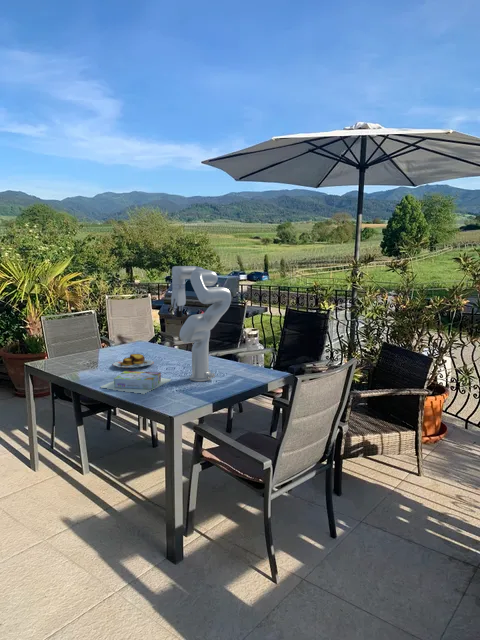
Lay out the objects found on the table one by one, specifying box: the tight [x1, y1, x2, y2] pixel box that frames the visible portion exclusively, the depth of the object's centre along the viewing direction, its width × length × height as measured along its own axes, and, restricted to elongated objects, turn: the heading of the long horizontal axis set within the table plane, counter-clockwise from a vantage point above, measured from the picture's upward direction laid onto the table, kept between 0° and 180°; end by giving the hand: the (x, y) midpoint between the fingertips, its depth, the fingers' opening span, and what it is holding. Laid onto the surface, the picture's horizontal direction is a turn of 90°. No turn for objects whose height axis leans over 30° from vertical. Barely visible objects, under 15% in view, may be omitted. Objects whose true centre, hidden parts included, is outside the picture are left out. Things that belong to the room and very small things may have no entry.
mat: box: [100, 377, 172, 395], centre depth 234 cm, size 28×27×1 cm
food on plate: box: [111, 353, 155, 369], centre depth 272 cm, size 25×25×7 cm
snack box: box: [113, 370, 162, 389], centre depth 231 cm, size 21×6×15 cm
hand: (179, 317), depth 258 cm, fingers closed
